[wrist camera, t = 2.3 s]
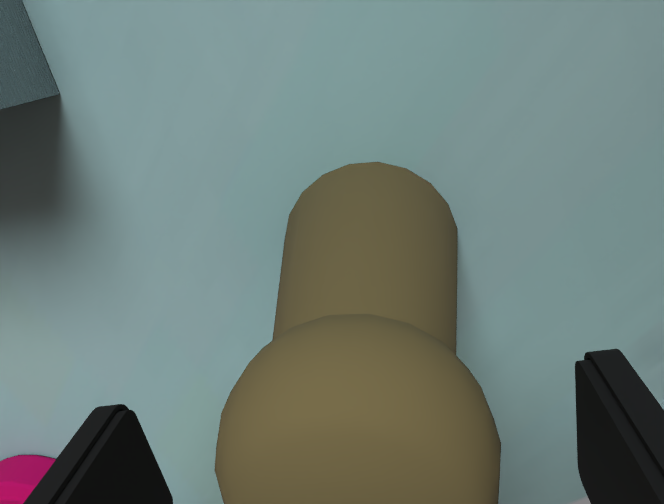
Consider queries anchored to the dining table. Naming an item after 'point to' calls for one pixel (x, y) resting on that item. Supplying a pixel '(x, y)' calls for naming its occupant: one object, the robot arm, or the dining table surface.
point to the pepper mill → (21, 476)
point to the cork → (362, 359)
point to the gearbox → (21, 59)
